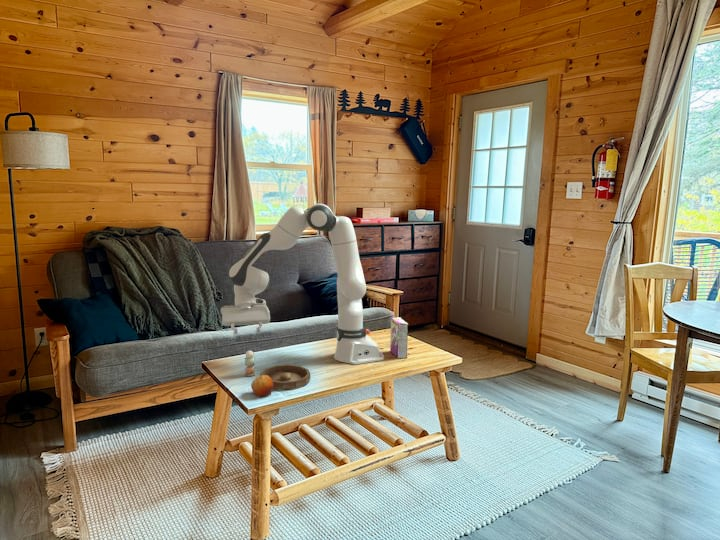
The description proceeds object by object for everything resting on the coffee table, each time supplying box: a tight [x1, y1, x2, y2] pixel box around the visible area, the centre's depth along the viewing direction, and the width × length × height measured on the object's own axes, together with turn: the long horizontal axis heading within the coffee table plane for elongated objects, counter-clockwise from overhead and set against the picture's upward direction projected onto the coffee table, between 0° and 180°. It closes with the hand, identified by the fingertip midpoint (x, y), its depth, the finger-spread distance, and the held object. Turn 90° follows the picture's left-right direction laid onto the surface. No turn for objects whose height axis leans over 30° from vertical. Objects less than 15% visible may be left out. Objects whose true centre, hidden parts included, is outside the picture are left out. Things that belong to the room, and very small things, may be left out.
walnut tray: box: [259, 364, 311, 391], centre depth 196 cm, size 19×19×3 cm
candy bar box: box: [389, 317, 409, 360], centre depth 229 cm, size 11×5×16 cm, turn 14°
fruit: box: [250, 375, 274, 398], centre depth 182 cm, size 8×8×8 cm
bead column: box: [244, 350, 256, 378], centre depth 200 cm, size 4×4×10 cm
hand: (247, 332), depth 209 cm, fingers open, 8 cm apart
